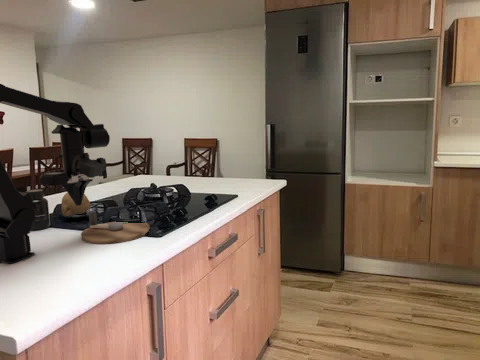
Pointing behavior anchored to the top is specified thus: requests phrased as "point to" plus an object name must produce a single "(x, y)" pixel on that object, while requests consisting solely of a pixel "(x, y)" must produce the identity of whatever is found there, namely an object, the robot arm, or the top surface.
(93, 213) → the multicoloured piece
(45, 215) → the supplement bottle
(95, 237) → the round wooden board
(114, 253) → the top surface
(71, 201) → the natural sponge
